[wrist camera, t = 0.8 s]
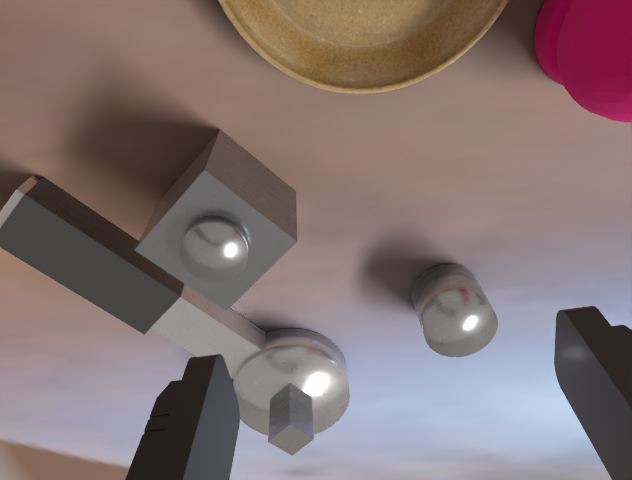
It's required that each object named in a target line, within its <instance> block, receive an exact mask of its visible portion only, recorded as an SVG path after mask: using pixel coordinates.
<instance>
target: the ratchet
mask: <svg viewBox="0 0 632 480" xmlns="http://www.w3.org/2000/svg"><path fill="white" fill-rule="evenodd" d="M138 242H139V241H137V240H136V239H134V238H133V237H131V236H130V235H128V234H127V233H125V232H124V231H122V230H121V229H119V228H118V227H116V226H115V225H113V224H112V223H110V222H109V221H107V220H106V219H105V218H103V217H102V216H100V215H99V214H97V213H96V212H94V211H93V210H91V209H90V208H88V207H87V206H85V205H84V204H82V203H81V202H79V201H78V200H76V199H75V198H74V197H72V196H71V195H69V194H68V193H66V192H65V191H63V190H62V189H60V188H59V187H57V186H56V185H54V184H53V183H51V182H50V181H48V180H47V179H45V178H44V177H43V178H42V179H41V180H39V179H37V178H36V177H34V176H33V175H32V176H31V177H30V178H29V179H28V180H26V181H25V182H24V183H23V184H22V185H21V186H20V187H18V188H17V189H16V190H15V192H14V193H13V195H12V196H11V197H10V199H9V200H8V202H7V203H6V204H5V206H4V207H3V209H2V210H1V211H0V247H1V248H2V249H4V250H6V251H7V252H9V253H11V254H12V255H14V256H16V257H17V258H19V259H21V260H22V261H24V262H26V263H27V264H29V265H30V266H32V267H34V268H35V269H37V270H39V271H40V272H42V273H44V274H45V275H47V276H49V277H50V278H52V279H54V280H55V281H57V282H59V283H60V284H62V285H64V286H65V287H67V288H69V289H70V290H72V291H73V292H75V293H77V294H78V295H80V296H82V297H83V298H85V299H87V300H88V301H90V302H92V303H93V304H95V305H97V306H98V307H100V308H102V309H103V310H105V311H107V312H108V313H110V314H111V315H113V316H115V317H116V318H118V319H120V320H121V321H123V322H125V323H126V324H128V325H130V326H131V327H133V328H135V329H136V330H138V331H140V332H141V333H143V334H145V333H146V332H147V331H148V330H149V329H152V330H154V331H155V332H157V333H159V334H160V335H162V336H163V337H165V338H167V339H168V340H170V341H172V342H173V343H175V344H177V345H178V346H180V347H181V348H183V349H185V350H186V351H188V352H190V353H191V354H193V355H195V356H196V357H200V356H208V355H216V354H221V355H222V356H223V358H224V360H225V363H226V366H227V369H228V372H229V375H230V378H232V379H234V382H233V387H234V390H235V393H236V396H237V399H238V403H239V411H240V419H241V420H242V421H243V422H244V423H245V424H246V425H248V426H249V427H251V428H252V429H254V430H256V431H258V432H260V433H262V434H265V435H268V436H269V437H268V442H270V443H271V444H273V445H275V446H276V447H278V448H280V449H282V450H283V451H285V452H287V453H289V454H290V455H294V454H295V453H296V452H298V451H299V450H300V449H302V448H303V447H304V446H305V445H307V444H308V443H309V442H311V441H312V440H313V439H314V434H317V433H319V432H322V431H324V430H326V429H327V428H329V427H330V426H332V425H333V424H335V423H336V422H337V421H338V420H339V419H340V418H341V416H342V415H343V414H344V412H345V410H346V408H347V406H348V403H349V396H350V394H349V385H348V377H347V370H346V363H345V359H344V357H343V355H342V353H341V351H340V350H339V348H338V347H337V346H336V345H335V344H334V343H333V342H332V341H331V340H329V339H328V338H326V337H324V336H323V335H320V334H318V333H316V332H313V331H309V330H305V329H297V328H286V329H278V330H274V331H270V332H267V333H266V332H265V331H263V330H262V329H260V328H259V327H257V326H256V325H254V324H253V323H251V322H250V321H248V320H247V319H245V318H244V317H242V316H241V315H239V314H238V313H236V312H235V311H234V310H232V309H231V308H228V309H227V310H226V311H225V310H223V309H222V308H220V307H219V306H217V305H216V304H214V303H213V302H211V301H210V300H208V299H207V298H205V297H204V296H202V295H201V294H199V293H198V292H196V291H195V290H193V289H192V288H190V287H189V286H187V285H186V284H184V283H183V282H181V281H180V280H178V279H177V278H175V277H174V276H172V275H171V274H169V273H168V272H166V271H165V270H163V269H162V268H160V267H159V266H157V265H156V264H154V263H153V262H151V261H150V260H148V259H147V258H145V257H144V256H142V255H141V254H139V253H138V252H136V251H135V248H136V246H137V244H138Z"/></svg>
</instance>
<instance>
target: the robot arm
mask: <svg viewBox="0 0 632 480" xmlns="http://www.w3.org/2000/svg"><path fill="white" fill-rule="evenodd" d="M554 364H555V371H556V376H557V379H558V382H559V385H560V387H561V389H562V391H563V393H564V394H565V396H566V398H567V400H568V402H569V403H570V405H571V407H572V409H573V411H574V412H575V414H576V416H577V418H578V419H579V421H580V423H581V425H582V427H583V428H584V430H585V432H586V434H587V436H588V437H589V439H590V441H591V443H592V444H593V446H594V448H595V450H596V452H597V453H598V455H599V457H600V459H601V461H602V462H603V464H604V466H605V468H606V469H607V471H608V473H609V475H610V477H611V478H612V480H632V330H631V329H629V328H628V327H626V326H624V325H619V326H611V325H610V324H609V323H608V321H607V320H606V319H605V318H604V316H603V315H602V314H601V313H600V311H599V310H598V309H597V308H596V307H594V306H589V307H581V308H574V309H566V310H560V311H558V313H557V317H556V335H555V357H554ZM239 422H240V411H239V403H238V399H237V396H236V393H235V390H234V387H233V384H232V381H231V378H230V375H229V372H228V369H227V366H226V363H225V360H224V358H223V356H222V355H221V354H216V355H208V356H200V357H193V358H190V359H189V361H188V363H187V366H186V369H185V372H184V375H183V378H182V380H179V381H171V382H170V383H169V385H168V386H167V387H166V388H165V389H164V390H163V392H162V393H161V394H160V395H159V396H158V397H157V399H156V402H155V404H154V407H153V410H152V412H151V415H150V420H148V422H147V425H146V428H145V430H144V432H145V433H144V435H142V438H141V441H140V443H139V446H138V448H137V451H136V453H135V456H134V459H133V461H132V464H131V466H130V469H129V472H128V475H127V477H126V479H125V480H229V478H230V472H231V467H232V462H233V456H234V451H235V445H236V440H237V435H238V429H239Z"/></svg>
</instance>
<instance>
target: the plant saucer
mask: <svg viewBox="0 0 632 480" xmlns="http://www.w3.org/2000/svg"><path fill="white" fill-rule="evenodd" d="M218 1H219V3H220V5H221V6H222V8H223V10H224V12H225V13H226V15H227V16H228V18H229V19H230V21H231V22H232V24H233V25H234V27H235V28H236V29H237V31H238V32H239V34H240V35H241V36H242V37H243V38H244V39H245V40H246V41H247V42H248V43H249V45H250V46H251V47H252V48H253V49H254V50H255V51H256V52H257V53H258V54H259V55H260V56H261V57H263V58H264V59H265V60H266V61H267V62H269V63H270V64H271V65H273V66H274V67H276V68H277V69H279V70H281V71H282V72H284V73H285V74H287V75H288V76H291V77H293V78H295V79H297V80H299V81H301V82H303V83H305V84H308V85H311V86H314V87H317V88H319V89H325V90H328V91H334V92H339V93H350V94H364V93H379V92H387V91H391V90H395V89H400V88H403V87H406V86H409V85H412V84H414V83H417V82H419V81H422V80H424V79H426V78H427V77H429V76H432V75H433V74H435V73H437V72H439V71H441V70H442V69H444V68H445V67H447V66H448V65H450V64H452V63H453V62H454V61H456V60H457V59H458V58H459V57H461V56H462V55H463V54H465V53H466V52H467V51H468V50H469V49H470V48H471V47H472V46H473V45H474V44H475V43H476V42H477V41H478V40H480V38H481V37H482V36H483V35H484V34H485V33H486V32H487V31H488V29H489V28H490V27H491V26H492V24H493V23H494V22H495V21H496V19H497V18H498V16H499V15H500V13H501V12H502V11H503V9H504V8H505V6H506V4H507V2H508V1H509V0H218Z"/></svg>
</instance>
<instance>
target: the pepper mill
mask: <svg viewBox="0 0 632 480" xmlns="http://www.w3.org/2000/svg"><path fill="white" fill-rule="evenodd" d="M534 42H535V51H536V55H537V59H538V61H539V64H540V65H541V67H542V69H543V70H544V72H545V73H546V74H547V75H548V76H549V77H550V78H551V79H553V80H554V81H556V82H557V83H559V84H561V85H563V86H564V87H565V89H566V90H567V91H568V93H569V94H570V95H571V97H572V98H573V99H574V100H575V101H576V102H577V103H578V104H579V105H580V106H581V107H583V108H585V109H586V110H588V111H590V112H592V113H595V114H597V115H600V116H603V117H606V118H609V119H611V120H615V121H621V122H632V0H545V2H544V4H543V6H542V8H541V10H540V13H539V16H538V19H537V23H536V27H535V36H534Z"/></svg>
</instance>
